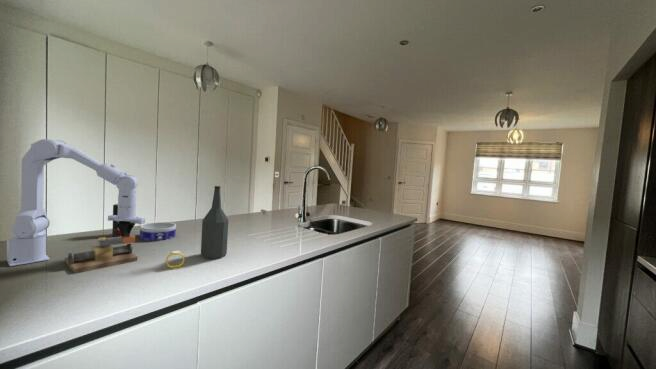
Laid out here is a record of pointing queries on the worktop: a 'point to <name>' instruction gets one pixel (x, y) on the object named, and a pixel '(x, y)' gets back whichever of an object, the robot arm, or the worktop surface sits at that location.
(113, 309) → the worktop surface
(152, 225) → the dog bowl
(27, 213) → the robot arm
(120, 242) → the valve lever
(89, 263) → the valve board
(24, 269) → the worktop surface
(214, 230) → the bottle
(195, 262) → the worktop surface
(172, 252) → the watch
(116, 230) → the deodorant
